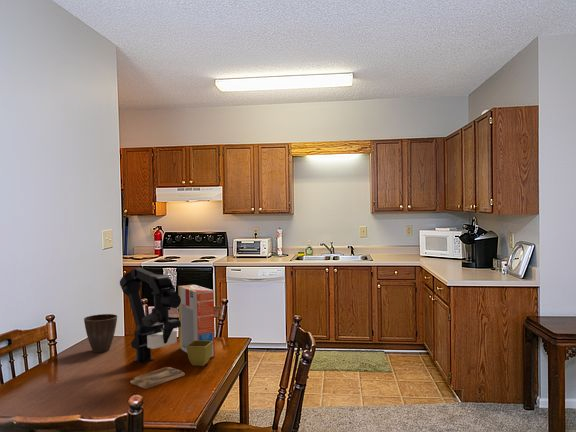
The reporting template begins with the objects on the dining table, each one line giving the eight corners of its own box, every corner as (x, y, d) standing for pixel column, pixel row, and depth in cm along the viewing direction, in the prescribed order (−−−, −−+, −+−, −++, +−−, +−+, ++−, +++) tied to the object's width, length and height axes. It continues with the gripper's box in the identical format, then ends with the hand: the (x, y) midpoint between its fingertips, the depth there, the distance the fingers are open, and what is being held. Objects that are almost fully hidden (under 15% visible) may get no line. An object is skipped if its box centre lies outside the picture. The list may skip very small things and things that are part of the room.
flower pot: (206, 368, 196) (205, 346, 196) (186, 367, 198) (186, 345, 198) (213, 361, 204) (213, 340, 204) (194, 360, 206) (194, 340, 206)
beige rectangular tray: (130, 383, 179) (130, 376, 179) (168, 370, 194) (168, 364, 194) (146, 388, 173) (145, 381, 173) (184, 375, 187) (184, 368, 187)
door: (147, 347, 194) (147, 335, 194) (170, 341, 204) (170, 329, 204) (153, 349, 192) (152, 336, 192) (176, 342, 201) (176, 330, 201)
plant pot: (106, 344, 236) (105, 312, 236) (124, 348, 227) (123, 315, 227) (78, 351, 224) (77, 318, 224) (96, 356, 215) (95, 321, 215)
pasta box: (214, 356, 212) (213, 290, 211) (198, 360, 207) (196, 292, 207) (195, 345, 231) (194, 284, 231) (179, 348, 226) (178, 286, 226)
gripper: (131, 306, 197) (132, 343, 197) (159, 311, 186) (159, 350, 186) (154, 302, 206) (154, 337, 206) (181, 306, 194) (182, 344, 194)
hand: (162, 342), depth 198 cm, fingers closed on door, 4 cm apart
